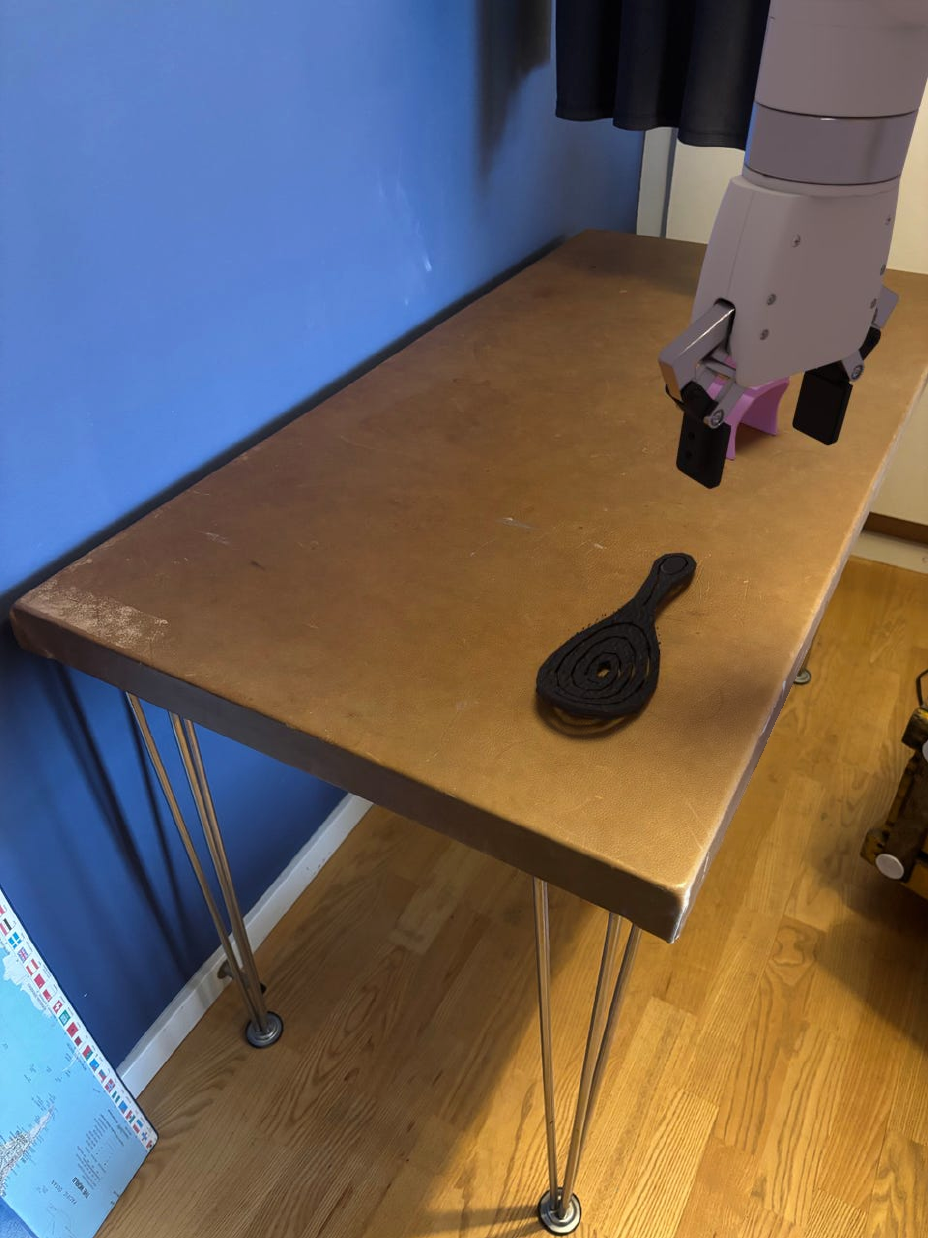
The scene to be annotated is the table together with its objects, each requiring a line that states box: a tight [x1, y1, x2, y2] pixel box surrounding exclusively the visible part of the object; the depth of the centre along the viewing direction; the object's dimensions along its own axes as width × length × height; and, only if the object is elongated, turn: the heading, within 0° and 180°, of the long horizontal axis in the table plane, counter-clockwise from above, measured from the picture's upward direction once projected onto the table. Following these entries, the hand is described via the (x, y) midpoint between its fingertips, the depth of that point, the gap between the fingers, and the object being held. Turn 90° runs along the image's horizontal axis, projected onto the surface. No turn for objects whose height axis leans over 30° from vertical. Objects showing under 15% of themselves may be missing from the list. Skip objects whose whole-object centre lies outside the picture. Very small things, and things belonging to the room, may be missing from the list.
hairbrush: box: [535, 552, 698, 721], centre depth 72 cm, size 8×4×25 cm
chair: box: [706, 357, 791, 461], centre depth 95 cm, size 8×9×15 cm
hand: (757, 456), depth 55 cm, fingers open, 9 cm apart
